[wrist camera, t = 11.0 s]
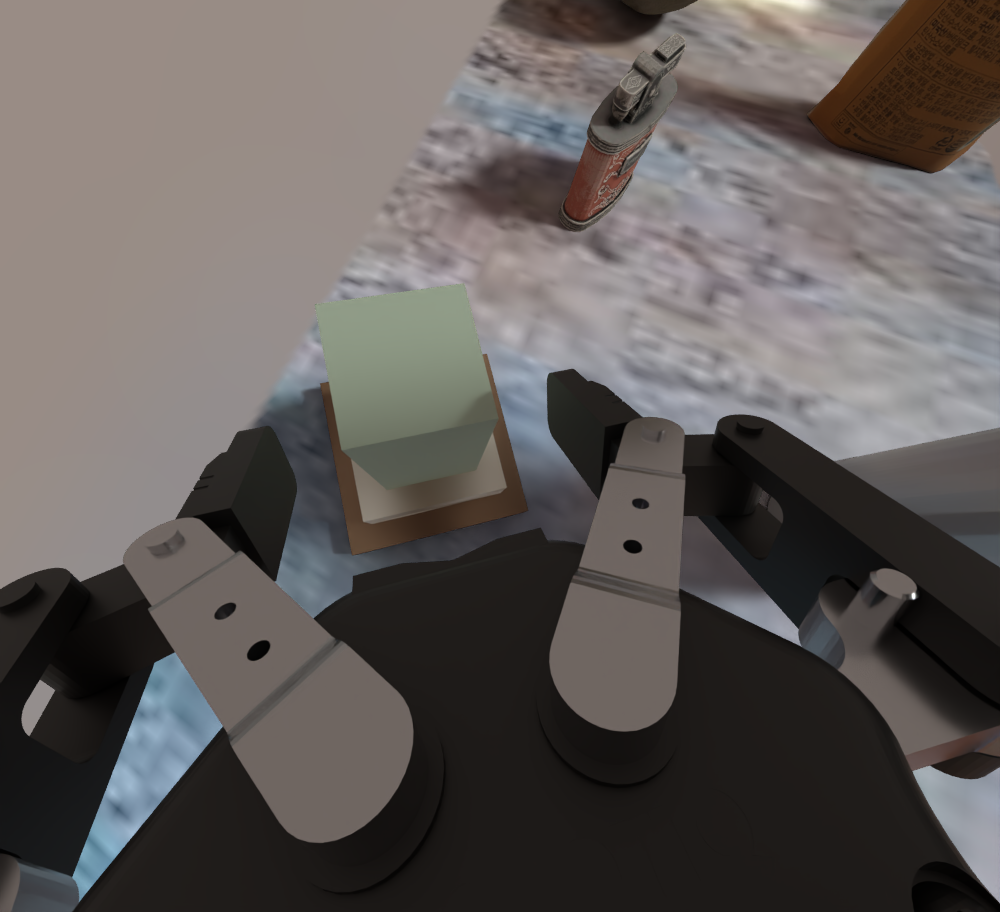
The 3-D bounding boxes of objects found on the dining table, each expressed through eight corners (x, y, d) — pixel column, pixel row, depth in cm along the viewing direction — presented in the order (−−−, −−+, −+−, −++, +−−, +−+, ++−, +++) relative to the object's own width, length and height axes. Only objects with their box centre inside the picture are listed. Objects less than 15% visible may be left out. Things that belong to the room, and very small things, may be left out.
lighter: (581, 240, 33) (638, 112, 23) (549, 213, 33) (593, 75, 23) (637, 183, 34) (712, 43, 25) (607, 158, 35) (670, 8, 25)
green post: (456, 388, 24) (464, 283, 14) (476, 470, 23) (498, 418, 13) (369, 404, 23) (314, 304, 13) (386, 490, 22) (341, 450, 12)
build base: (484, 363, 29) (491, 331, 25) (523, 512, 27) (538, 506, 23) (326, 391, 27) (304, 363, 23) (357, 554, 25) (339, 557, 21)
